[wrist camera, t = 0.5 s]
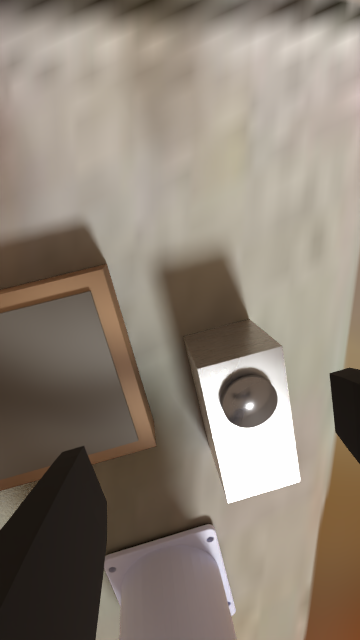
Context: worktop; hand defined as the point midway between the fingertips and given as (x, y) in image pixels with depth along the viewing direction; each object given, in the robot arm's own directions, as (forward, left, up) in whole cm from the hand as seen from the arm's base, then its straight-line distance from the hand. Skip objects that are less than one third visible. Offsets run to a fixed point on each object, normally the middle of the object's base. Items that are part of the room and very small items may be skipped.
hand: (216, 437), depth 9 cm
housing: (-4, -2, -10) cm, 11 cm away
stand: (0, +9, -10) cm, 13 cm away
